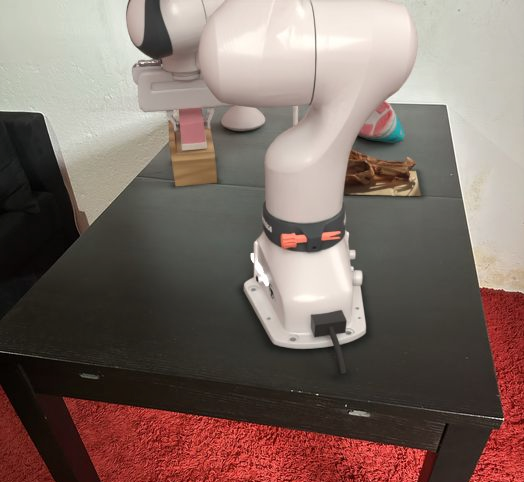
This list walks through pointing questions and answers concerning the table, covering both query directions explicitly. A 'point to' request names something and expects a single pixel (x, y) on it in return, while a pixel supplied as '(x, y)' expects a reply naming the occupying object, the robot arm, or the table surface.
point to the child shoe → (192, 129)
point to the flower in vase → (243, 118)
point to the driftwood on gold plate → (380, 176)
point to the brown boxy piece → (192, 161)
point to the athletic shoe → (383, 125)
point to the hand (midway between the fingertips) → (192, 129)
